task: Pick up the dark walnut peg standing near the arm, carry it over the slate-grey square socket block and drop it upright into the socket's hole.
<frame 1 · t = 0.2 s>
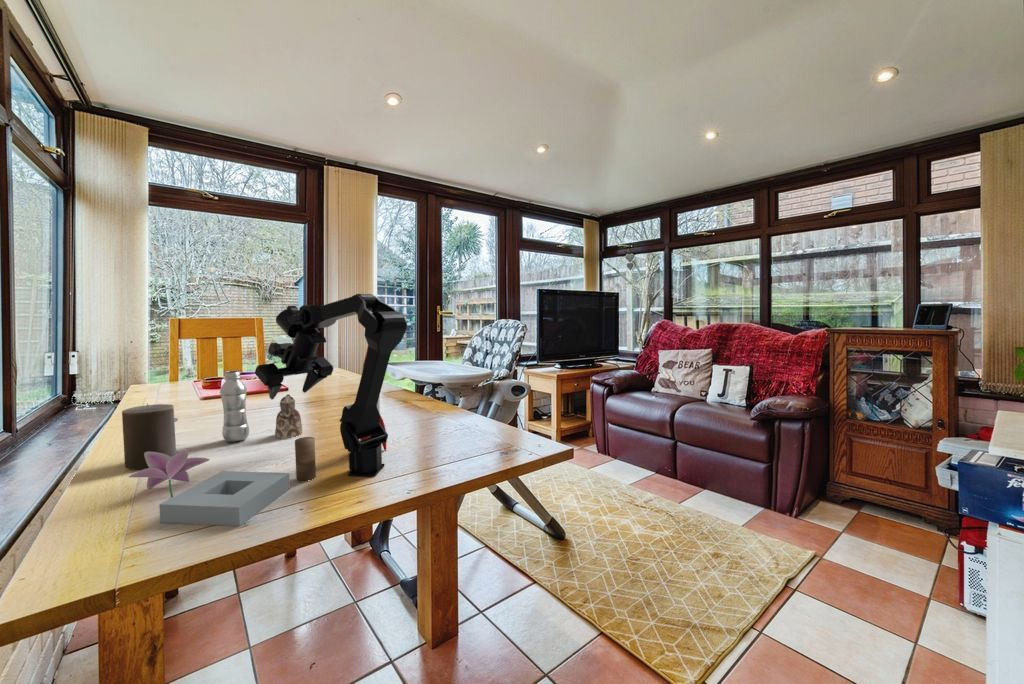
hand: (288, 394, 113), 15 cm above the table, tool tilted 30°, fingers open, 9 cm apart
walnut peg: (306, 478, 95), on the table
lily: (171, 491, 88), on the table
plastic bottle: (236, 441, 120), on the table
pillar candle: (152, 463, 103), on the table
socket block: (230, 504, 82), on the table
figurine: (289, 435, 125), on the table
toy rocket: (373, 450, 113), on the table
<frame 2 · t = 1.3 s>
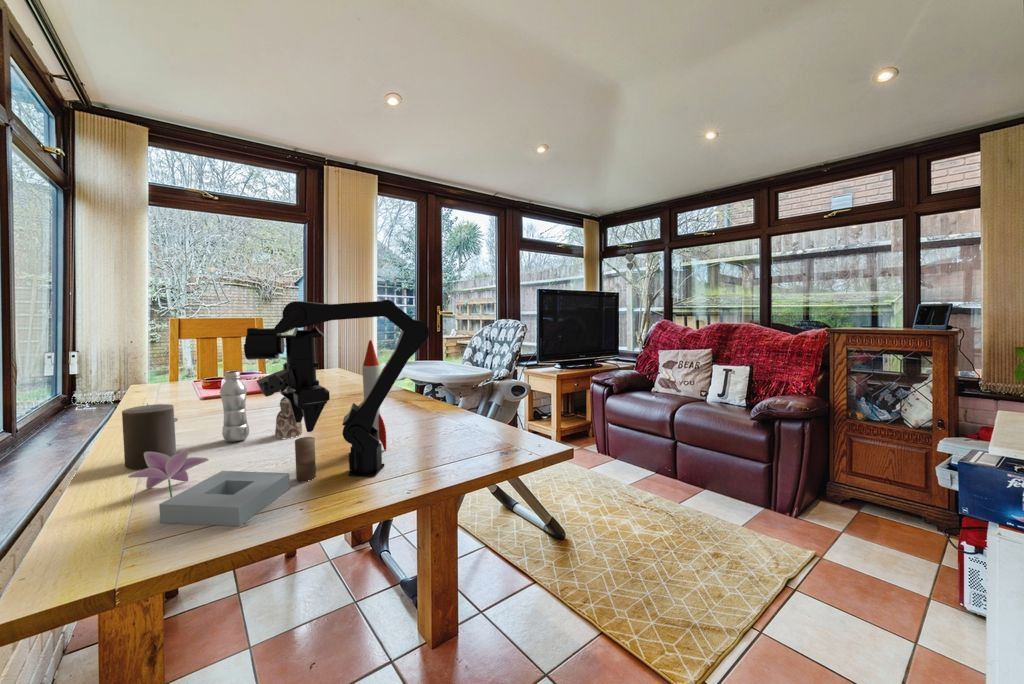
hand: (304, 426, 94), 12 cm above the table, tool pointing down, fingers open, 9 cm apart
nothing on the table moved.
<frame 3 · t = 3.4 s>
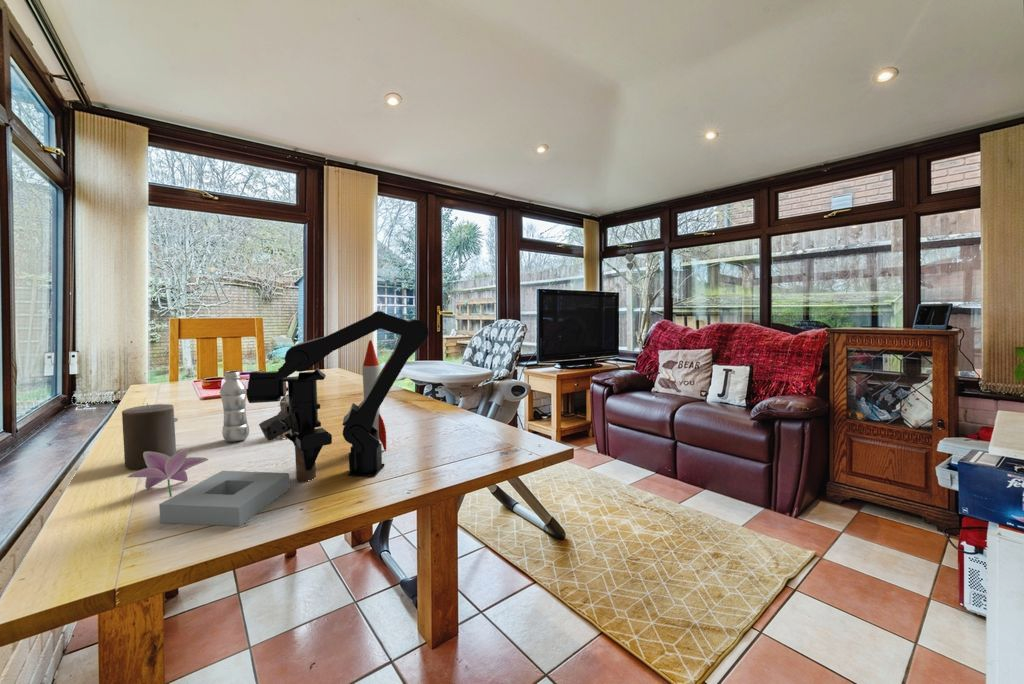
hand: (305, 467, 94), 3 cm above the table, tool pointing down, fingers closed on walnut peg, 4 cm apart
walnut peg: (306, 478, 95), on the table, touching gripper
everything else where it was.
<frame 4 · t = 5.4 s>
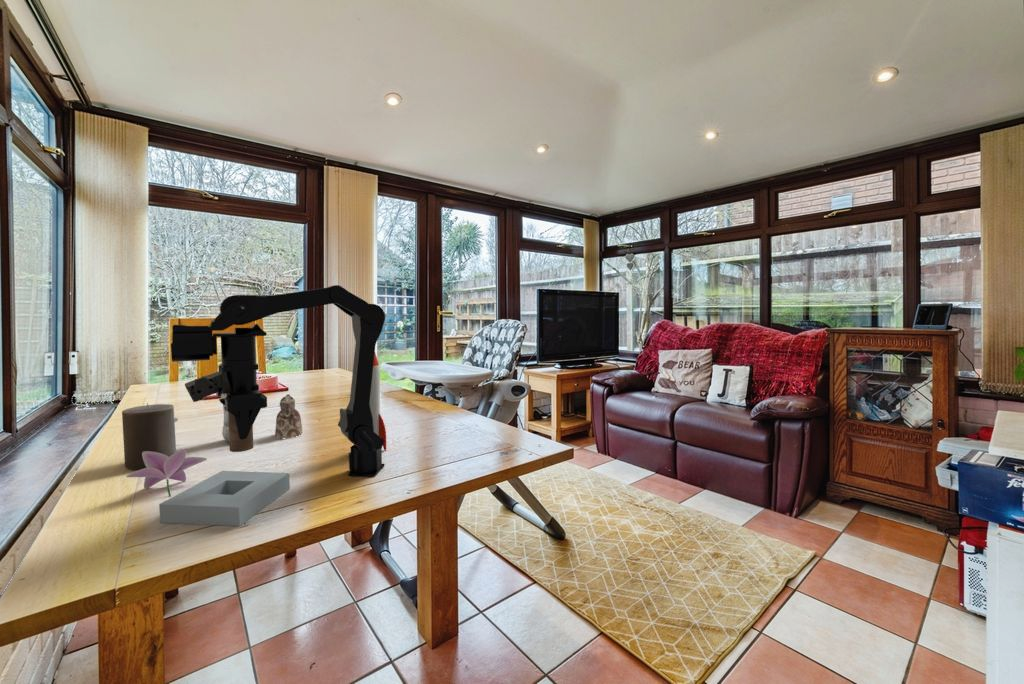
hand: (241, 436, 83), 13 cm above the table, tool pointing down, fingers closed on walnut peg, 4 cm apart
walnut peg: (241, 448, 83), point 11 cm above the table, touching gripper
everything else where it was.
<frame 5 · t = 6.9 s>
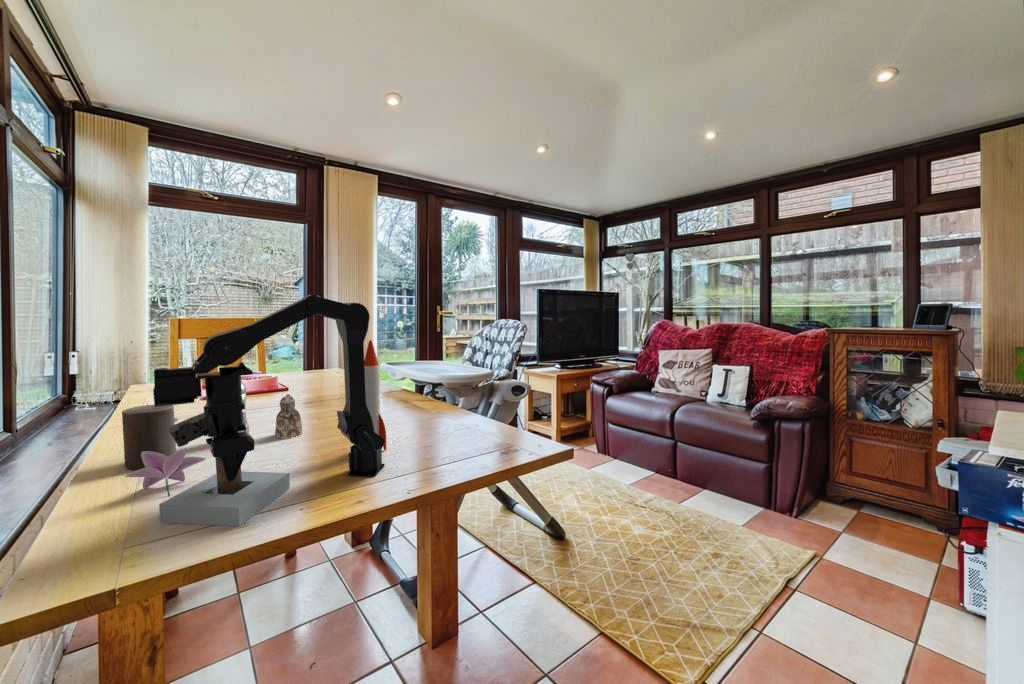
hand: (229, 477, 82), 6 cm above the table, tool pointing down, fingers closed on walnut peg, 4 cm apart
walnut peg: (230, 489, 82), point 3 cm above the table, touching gripper
everything else where it was.
when the fingers open (4 cm above the table, at t = 7.9 s): walnut peg drops 2 cm, resting in socket block.
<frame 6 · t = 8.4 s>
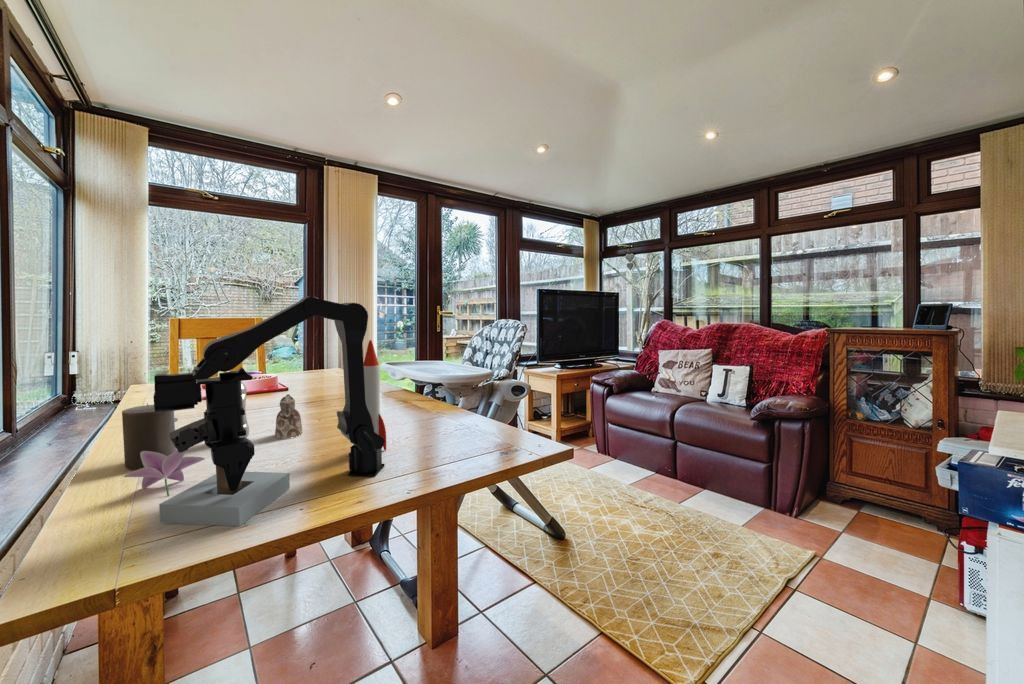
hand: (229, 482, 82), 4 cm above the table, tool pointing down, fingers open, 9 cm apart
walnut peg: (230, 504, 82), resting in socket block
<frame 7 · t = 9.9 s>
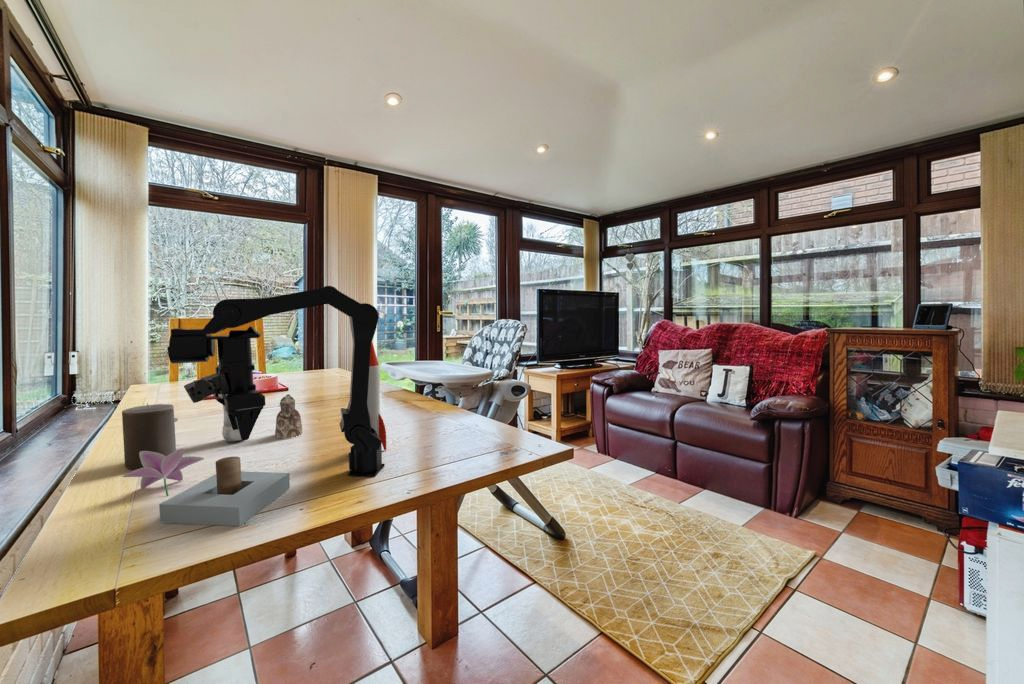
hand: (240, 434, 87), 12 cm above the table, tool pointing down, fingers open, 9 cm apart
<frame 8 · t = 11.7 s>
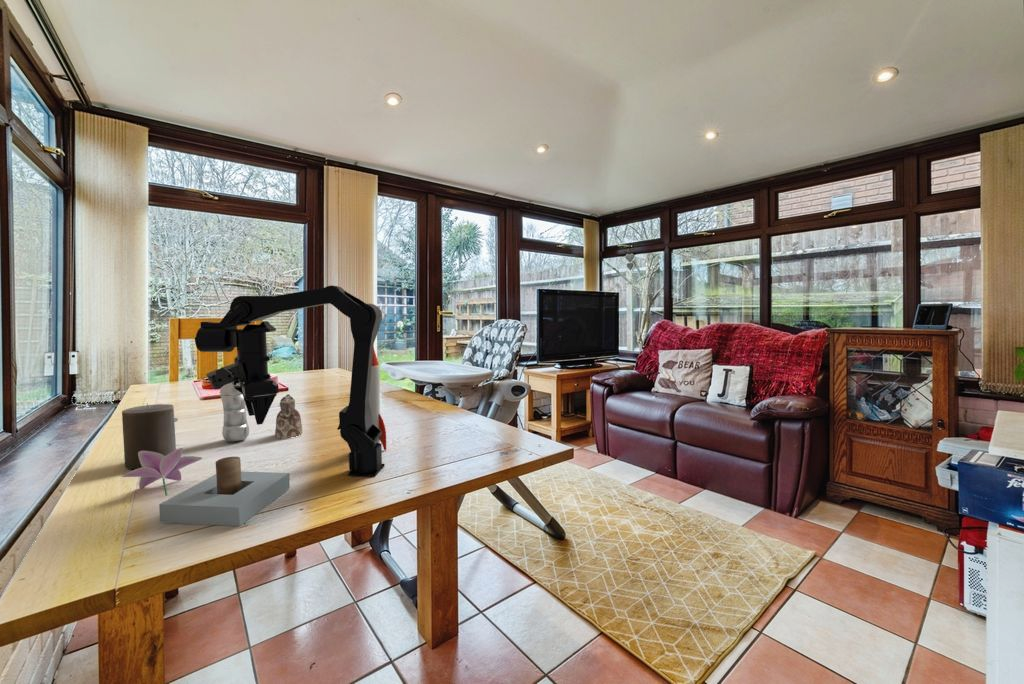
hand: (255, 419, 95), 13 cm above the table, tool pointing down, fingers open, 9 cm apart
at the end: walnut peg 0.0 cm off-centre on the socket block, point 0.0 cm above the socket block's base; walnut peg tilted 0°; the gripper is holding nothing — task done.
